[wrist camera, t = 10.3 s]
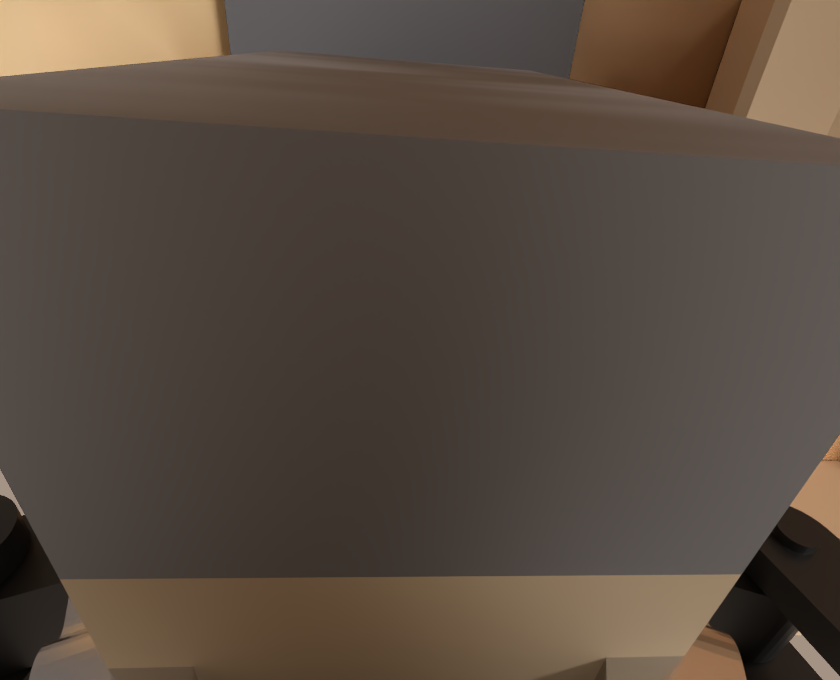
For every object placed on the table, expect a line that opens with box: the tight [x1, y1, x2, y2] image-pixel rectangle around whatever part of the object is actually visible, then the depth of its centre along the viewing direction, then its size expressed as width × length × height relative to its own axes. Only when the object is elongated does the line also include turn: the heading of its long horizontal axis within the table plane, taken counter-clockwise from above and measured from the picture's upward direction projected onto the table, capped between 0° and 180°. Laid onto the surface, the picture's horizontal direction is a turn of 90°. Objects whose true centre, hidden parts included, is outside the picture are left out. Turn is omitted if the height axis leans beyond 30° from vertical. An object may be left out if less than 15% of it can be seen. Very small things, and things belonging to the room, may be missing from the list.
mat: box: [224, 0, 585, 79], centre depth 15 cm, size 8×16×1 cm, turn 176°
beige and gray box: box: [0, 51, 840, 680], centre depth 9 cm, size 5×12×9 cm, turn 176°
